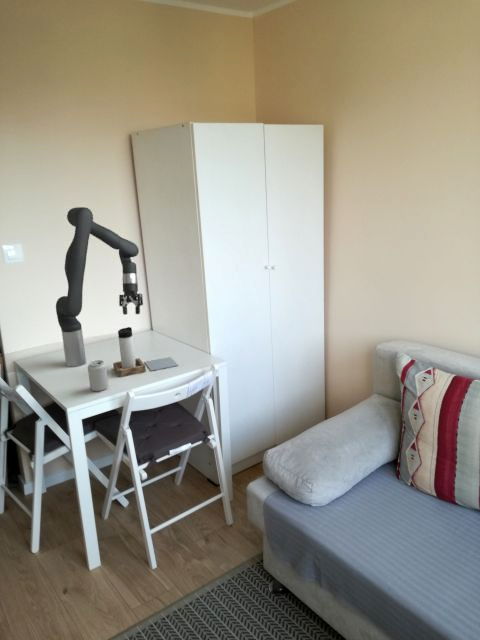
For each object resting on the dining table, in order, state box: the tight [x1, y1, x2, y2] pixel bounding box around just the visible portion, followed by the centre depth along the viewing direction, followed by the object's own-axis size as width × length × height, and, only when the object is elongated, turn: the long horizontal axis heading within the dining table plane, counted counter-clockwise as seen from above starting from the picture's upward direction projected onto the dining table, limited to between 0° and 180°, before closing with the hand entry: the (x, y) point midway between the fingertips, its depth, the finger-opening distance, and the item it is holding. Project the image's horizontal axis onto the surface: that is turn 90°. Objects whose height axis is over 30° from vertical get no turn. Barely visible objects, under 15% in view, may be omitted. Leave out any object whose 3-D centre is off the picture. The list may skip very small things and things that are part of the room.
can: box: [87, 359, 110, 392], centre depth 215 cm, size 8×8×12 cm
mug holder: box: [112, 357, 147, 378], centre depth 235 cm, size 12×12×3 cm
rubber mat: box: [143, 356, 179, 372], centre depth 242 cm, size 13×13×1 cm
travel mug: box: [117, 326, 137, 370], centre depth 233 cm, size 6×7×20 cm
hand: (131, 314), depth 262 cm, fingers open, 8 cm apart
